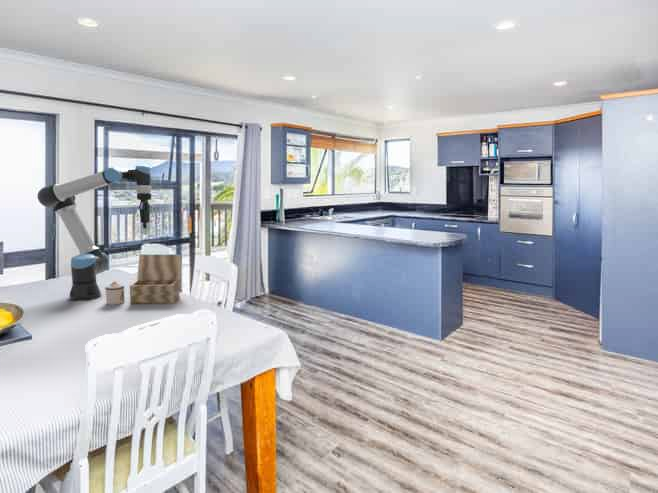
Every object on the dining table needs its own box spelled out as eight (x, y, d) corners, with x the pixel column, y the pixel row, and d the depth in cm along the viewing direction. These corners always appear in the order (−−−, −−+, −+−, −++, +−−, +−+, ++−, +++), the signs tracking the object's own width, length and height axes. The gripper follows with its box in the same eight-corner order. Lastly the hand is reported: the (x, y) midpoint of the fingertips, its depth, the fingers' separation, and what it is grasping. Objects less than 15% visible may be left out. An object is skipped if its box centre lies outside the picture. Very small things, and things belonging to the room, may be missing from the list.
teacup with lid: (124, 304, 225) (123, 282, 224) (105, 305, 222) (103, 283, 220) (125, 298, 236) (124, 278, 235) (107, 300, 233) (106, 279, 231)
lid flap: (139, 254, 242) (140, 255, 243) (137, 279, 238) (137, 280, 239) (181, 254, 245) (181, 254, 245) (179, 279, 241) (180, 279, 242)
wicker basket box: (130, 304, 226) (129, 285, 224) (139, 297, 240) (138, 279, 238) (173, 303, 228) (172, 285, 227) (179, 296, 242) (179, 279, 241)
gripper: (147, 193, 239) (149, 235, 242) (154, 192, 252) (155, 232, 255) (133, 192, 238) (135, 235, 241) (140, 192, 251) (142, 232, 254)
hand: (145, 233), depth 248 cm, fingers closed
